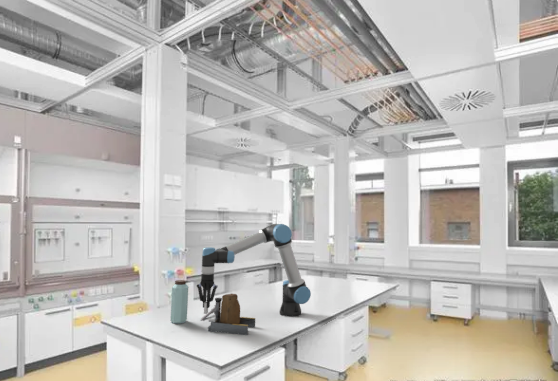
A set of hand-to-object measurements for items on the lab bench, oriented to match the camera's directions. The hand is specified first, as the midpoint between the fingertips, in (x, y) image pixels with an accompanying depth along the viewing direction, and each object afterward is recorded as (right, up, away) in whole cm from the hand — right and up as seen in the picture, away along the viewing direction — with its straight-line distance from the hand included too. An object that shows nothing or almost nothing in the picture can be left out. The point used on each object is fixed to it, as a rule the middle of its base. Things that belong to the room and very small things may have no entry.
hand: (205, 313), depth 219 cm
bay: (+17, -8, -4) cm, 19 cm away
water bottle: (-18, -8, +7) cm, 21 cm away
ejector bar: (+7, -8, -2) cm, 11 cm away
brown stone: (+15, -8, -4) cm, 17 cm away
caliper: (-2, -10, +21) cm, 23 cm away
